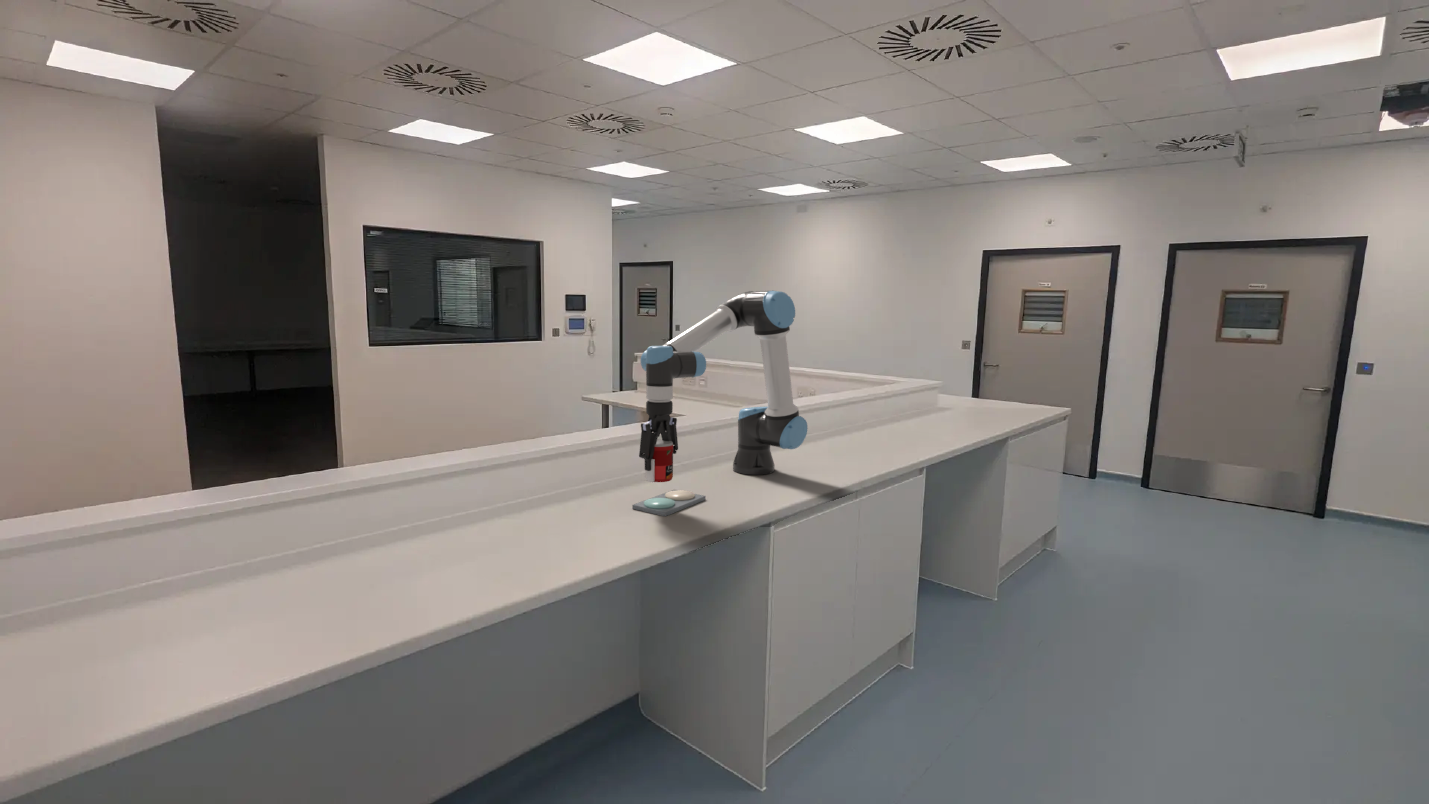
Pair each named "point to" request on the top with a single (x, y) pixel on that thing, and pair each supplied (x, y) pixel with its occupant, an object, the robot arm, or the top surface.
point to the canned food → (663, 461)
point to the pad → (659, 503)
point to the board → (680, 498)
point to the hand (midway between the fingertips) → (659, 478)
